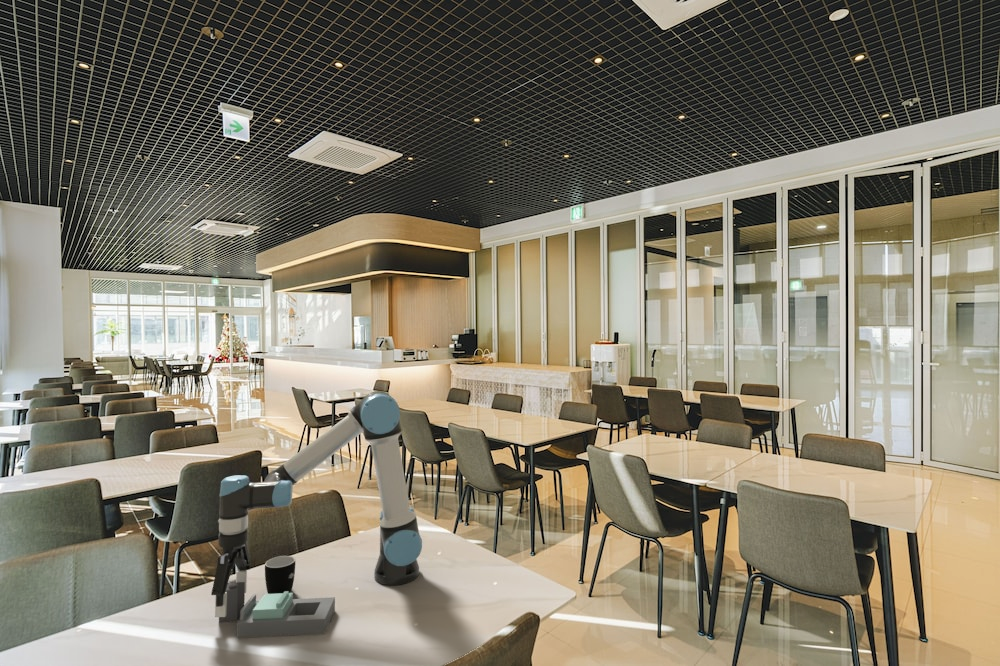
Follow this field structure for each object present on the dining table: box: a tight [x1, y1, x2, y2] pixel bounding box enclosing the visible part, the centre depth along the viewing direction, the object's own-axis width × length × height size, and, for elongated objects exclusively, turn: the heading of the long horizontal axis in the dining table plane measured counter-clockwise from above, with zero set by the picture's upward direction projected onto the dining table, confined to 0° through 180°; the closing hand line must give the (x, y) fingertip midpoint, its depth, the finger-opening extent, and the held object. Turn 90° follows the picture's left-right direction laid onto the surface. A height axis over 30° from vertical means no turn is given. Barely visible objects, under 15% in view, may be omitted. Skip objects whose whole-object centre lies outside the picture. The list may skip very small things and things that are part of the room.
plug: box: [218, 578, 246, 623], centre depth 146 cm, size 5×5×11 cm
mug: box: [264, 555, 296, 594], centre depth 162 cm, size 12×9×10 cm
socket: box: [236, 593, 336, 639], centre depth 143 cm, size 23×12×7 cm, turn 96°
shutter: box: [252, 591, 294, 619], centre depth 142 cm, size 8×9×4 cm
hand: (231, 604), depth 146 cm, fingers open, 13 cm apart
